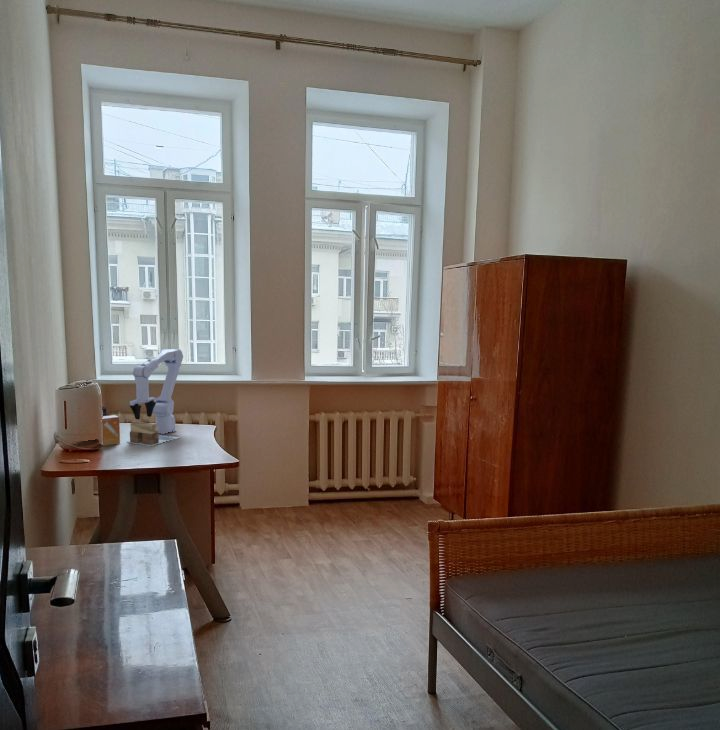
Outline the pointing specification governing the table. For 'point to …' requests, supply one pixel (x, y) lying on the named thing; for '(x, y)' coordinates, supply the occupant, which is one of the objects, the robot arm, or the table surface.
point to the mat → (161, 440)
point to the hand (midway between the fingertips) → (143, 417)
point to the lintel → (144, 427)
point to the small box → (111, 430)
